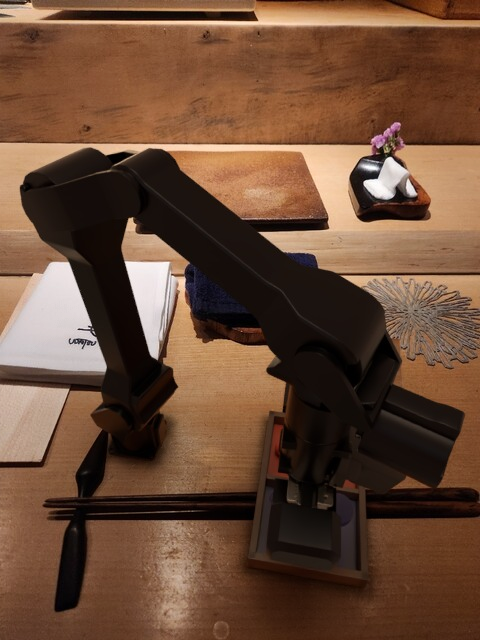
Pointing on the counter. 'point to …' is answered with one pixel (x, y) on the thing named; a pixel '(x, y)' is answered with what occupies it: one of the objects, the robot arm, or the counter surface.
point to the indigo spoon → (338, 507)
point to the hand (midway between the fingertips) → (298, 500)
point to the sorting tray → (352, 535)
